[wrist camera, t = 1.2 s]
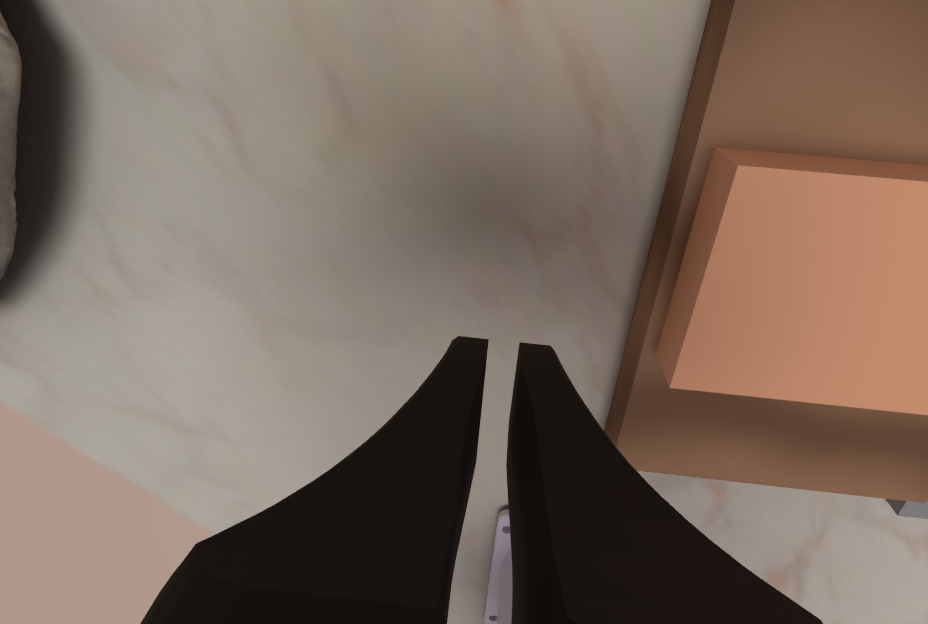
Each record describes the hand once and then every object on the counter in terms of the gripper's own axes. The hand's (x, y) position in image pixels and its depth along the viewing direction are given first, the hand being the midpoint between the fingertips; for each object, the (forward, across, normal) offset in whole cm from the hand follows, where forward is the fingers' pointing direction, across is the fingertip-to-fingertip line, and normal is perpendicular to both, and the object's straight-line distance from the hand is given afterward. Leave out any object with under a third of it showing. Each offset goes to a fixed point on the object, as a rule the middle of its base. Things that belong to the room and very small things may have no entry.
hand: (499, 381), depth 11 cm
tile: (+7, -10, 0) cm, 13 cm away
